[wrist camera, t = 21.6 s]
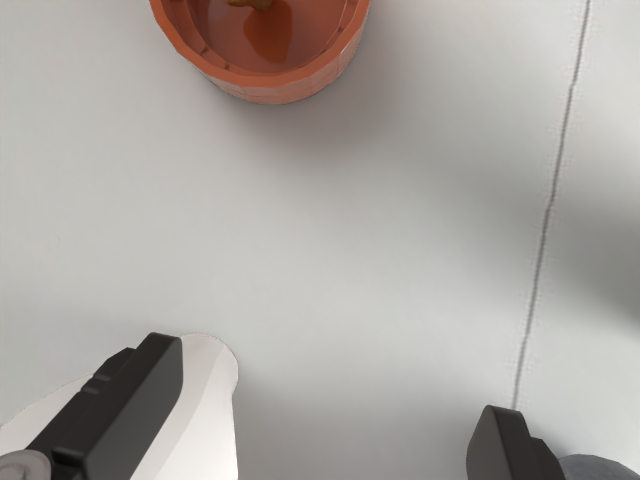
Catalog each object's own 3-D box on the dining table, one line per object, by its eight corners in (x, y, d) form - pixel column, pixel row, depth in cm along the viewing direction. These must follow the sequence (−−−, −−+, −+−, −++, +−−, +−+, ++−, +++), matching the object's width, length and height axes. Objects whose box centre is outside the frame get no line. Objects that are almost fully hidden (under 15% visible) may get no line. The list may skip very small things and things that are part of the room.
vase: (104, 322, 40) (-471, 679, 11) (246, 282, 39) (25, 553, 10) (153, 455, 42) (-230, 1055, 13) (290, 419, 41) (206, 973, 12)
